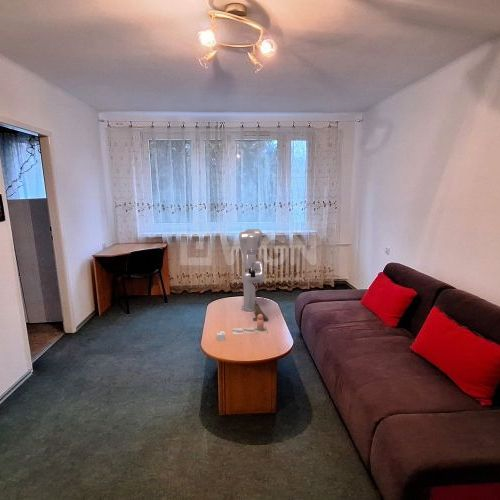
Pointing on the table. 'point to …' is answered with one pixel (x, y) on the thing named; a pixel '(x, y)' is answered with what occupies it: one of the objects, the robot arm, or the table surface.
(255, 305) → the worn brown figurine
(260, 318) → the pink cylindrical peg
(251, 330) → the game board
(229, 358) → the table surface
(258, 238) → the robot arm
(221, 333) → the die
